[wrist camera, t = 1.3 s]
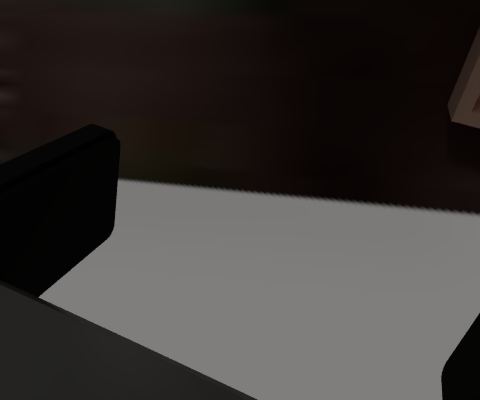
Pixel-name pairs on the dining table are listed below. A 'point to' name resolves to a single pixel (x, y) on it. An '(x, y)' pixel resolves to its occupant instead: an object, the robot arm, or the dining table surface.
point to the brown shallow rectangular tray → (468, 89)
